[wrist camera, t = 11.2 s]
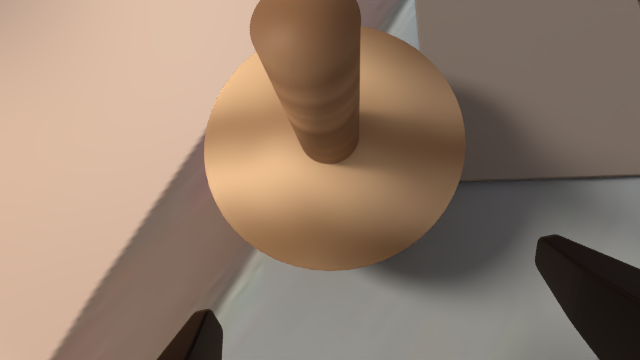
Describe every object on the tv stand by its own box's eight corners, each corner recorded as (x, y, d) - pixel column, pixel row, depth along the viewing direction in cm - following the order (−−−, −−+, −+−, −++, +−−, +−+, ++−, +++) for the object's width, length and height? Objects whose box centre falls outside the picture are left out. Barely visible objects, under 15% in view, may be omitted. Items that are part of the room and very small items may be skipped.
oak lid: (474, 270, 16) (633, 277, 7) (201, 270, 17) (29, 278, 8) (445, 27, 19) (524, -184, 10) (220, 45, 21) (114, -125, 12)
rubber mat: (682, 174, 20) (690, 172, 20) (432, 182, 22) (434, 180, 21) (623, -22, 24) (629, -28, 23) (414, -3, 25) (415, -8, 25)
